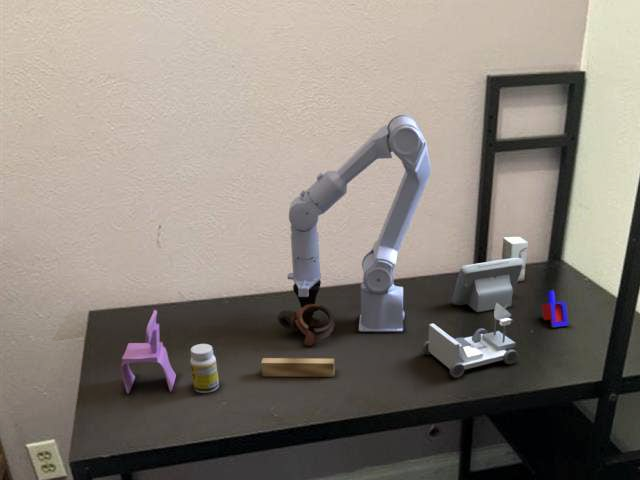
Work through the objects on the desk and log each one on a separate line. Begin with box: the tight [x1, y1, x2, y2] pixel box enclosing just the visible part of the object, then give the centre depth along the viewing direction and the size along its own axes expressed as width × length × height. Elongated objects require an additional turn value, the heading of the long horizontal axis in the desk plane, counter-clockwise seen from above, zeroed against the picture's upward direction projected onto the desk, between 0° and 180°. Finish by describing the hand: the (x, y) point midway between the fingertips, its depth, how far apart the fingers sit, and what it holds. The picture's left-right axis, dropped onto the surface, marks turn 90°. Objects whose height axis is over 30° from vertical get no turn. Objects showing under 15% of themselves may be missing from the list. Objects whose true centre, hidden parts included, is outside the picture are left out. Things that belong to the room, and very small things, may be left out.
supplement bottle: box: [189, 343, 220, 394], centre depth 146 cm, size 5×5×8 cm
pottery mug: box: [277, 303, 336, 347], centre depth 165 cm, size 12×10×8 cm
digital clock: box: [451, 258, 523, 313], centre depth 178 cm, size 16×9×11 cm, turn 99°
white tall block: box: [501, 235, 528, 283], centre depth 192 cm, size 5×4×10 cm
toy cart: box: [421, 303, 519, 379], centre depth 156 cm, size 18×10×12 cm
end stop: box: [260, 357, 336, 378], centre depth 152 cm, size 14×2×3 cm, turn 88°
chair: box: [120, 309, 177, 394], centre depth 146 cm, size 8×9×15 cm
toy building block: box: [541, 289, 569, 328], centre depth 171 cm, size 4×4×8 cm
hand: (308, 314), depth 170 cm, fingers closed
